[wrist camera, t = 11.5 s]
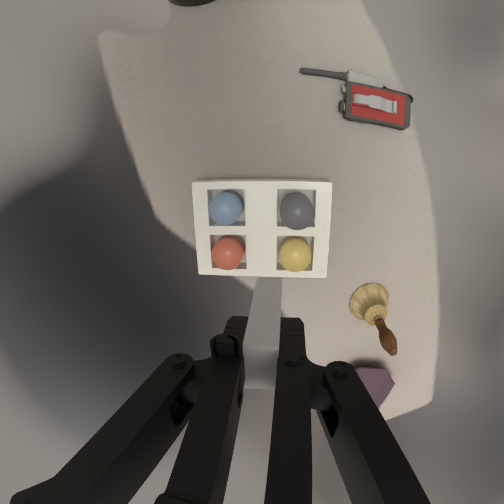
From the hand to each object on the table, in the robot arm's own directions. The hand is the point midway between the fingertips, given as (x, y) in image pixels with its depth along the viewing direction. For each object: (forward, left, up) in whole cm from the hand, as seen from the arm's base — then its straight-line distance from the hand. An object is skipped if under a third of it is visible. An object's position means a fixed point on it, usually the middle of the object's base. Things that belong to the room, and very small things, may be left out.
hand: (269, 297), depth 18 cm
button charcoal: (0, +3, -29) cm, 29 cm away
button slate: (0, -8, -31) cm, 32 cm away
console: (+4, -3, -32) cm, 33 cm away
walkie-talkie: (-19, +13, -33) cm, 40 cm away
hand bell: (+19, +18, -33) cm, 42 cm away
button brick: (+8, -8, -31) cm, 33 cm away
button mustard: (+8, +3, -31) cm, 32 cm away
